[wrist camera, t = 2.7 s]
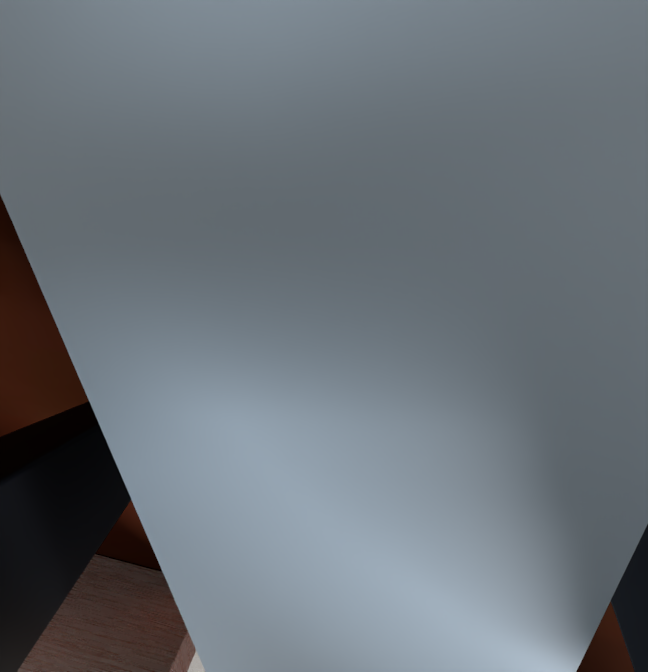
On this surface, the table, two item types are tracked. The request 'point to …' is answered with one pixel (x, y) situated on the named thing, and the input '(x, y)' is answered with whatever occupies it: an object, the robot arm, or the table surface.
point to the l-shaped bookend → (116, 625)
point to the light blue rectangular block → (352, 309)
